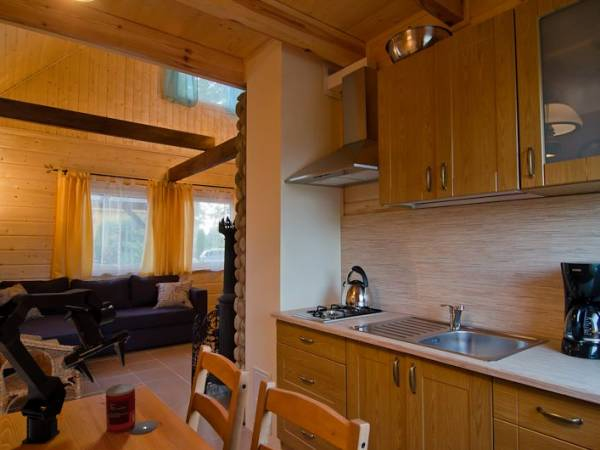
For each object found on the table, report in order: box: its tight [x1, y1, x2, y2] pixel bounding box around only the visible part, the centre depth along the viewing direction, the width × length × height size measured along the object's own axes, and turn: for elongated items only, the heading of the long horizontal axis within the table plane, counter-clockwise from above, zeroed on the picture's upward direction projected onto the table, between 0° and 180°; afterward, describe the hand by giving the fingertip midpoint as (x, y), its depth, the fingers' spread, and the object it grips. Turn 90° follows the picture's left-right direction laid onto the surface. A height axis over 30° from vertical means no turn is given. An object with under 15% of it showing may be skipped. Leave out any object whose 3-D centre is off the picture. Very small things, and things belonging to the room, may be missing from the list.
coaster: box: [127, 420, 158, 435], centre depth 110 cm, size 8×8×1 cm
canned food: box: [105, 382, 137, 434], centre depth 110 cm, size 8×8×11 cm
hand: (108, 374), depth 115 cm, fingers open, 9 cm apart
